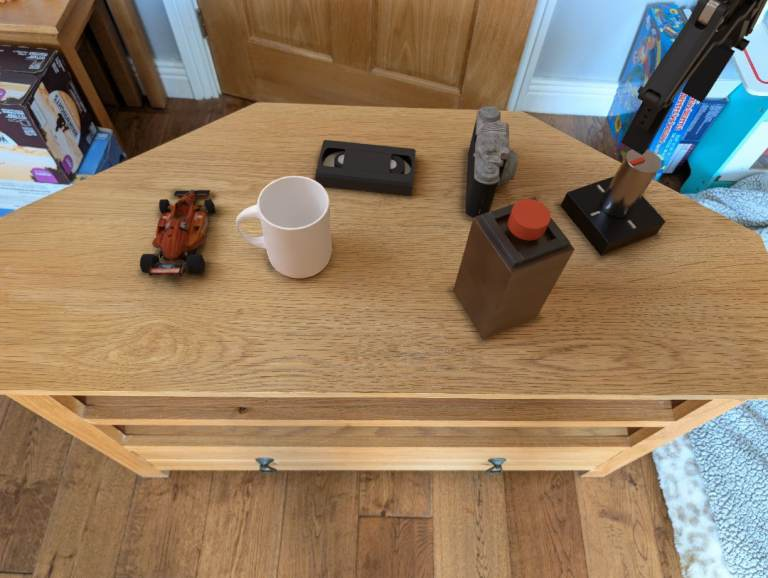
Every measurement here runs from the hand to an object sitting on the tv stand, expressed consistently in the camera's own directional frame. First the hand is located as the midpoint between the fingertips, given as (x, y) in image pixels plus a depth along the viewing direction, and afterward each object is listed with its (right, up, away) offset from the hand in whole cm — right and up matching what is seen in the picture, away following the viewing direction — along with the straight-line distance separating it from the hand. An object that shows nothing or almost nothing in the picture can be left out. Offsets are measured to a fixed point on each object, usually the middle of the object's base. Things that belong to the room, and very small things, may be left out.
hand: (664, 120), depth 65 cm
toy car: (-60, -13, +12) cm, 62 cm away
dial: (0, -8, +14) cm, 16 cm away
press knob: (-17, -13, -5) cm, 22 cm away
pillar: (-18, -22, +8) cm, 29 cm away
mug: (-46, -15, +11) cm, 49 cm away
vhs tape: (-35, -2, +20) cm, 41 cm away
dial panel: (0, -9, +17) cm, 19 cm away
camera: (-17, -4, +20) cm, 26 cm away
